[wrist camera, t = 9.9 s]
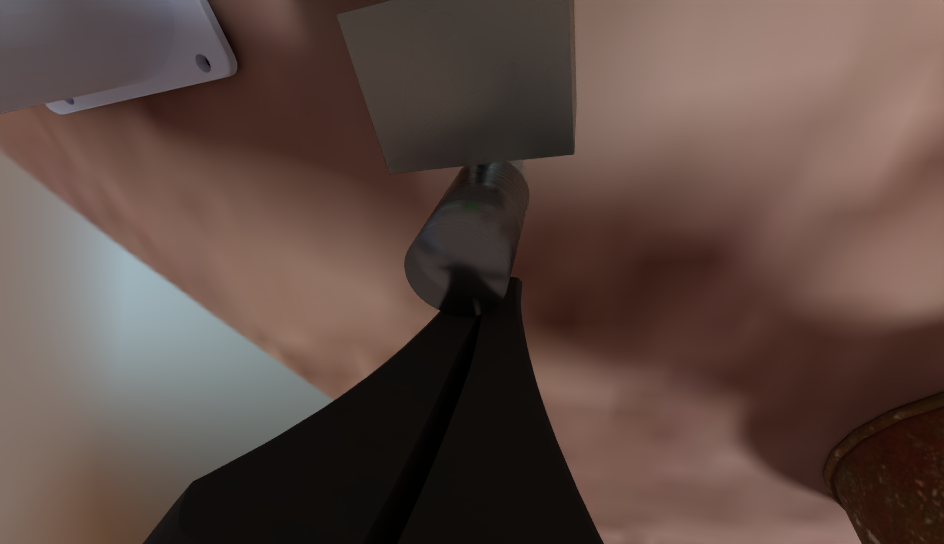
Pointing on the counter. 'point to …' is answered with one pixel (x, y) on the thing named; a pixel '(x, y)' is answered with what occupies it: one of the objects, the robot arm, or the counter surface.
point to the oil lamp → (893, 475)
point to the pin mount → (466, 79)
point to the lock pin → (471, 240)
